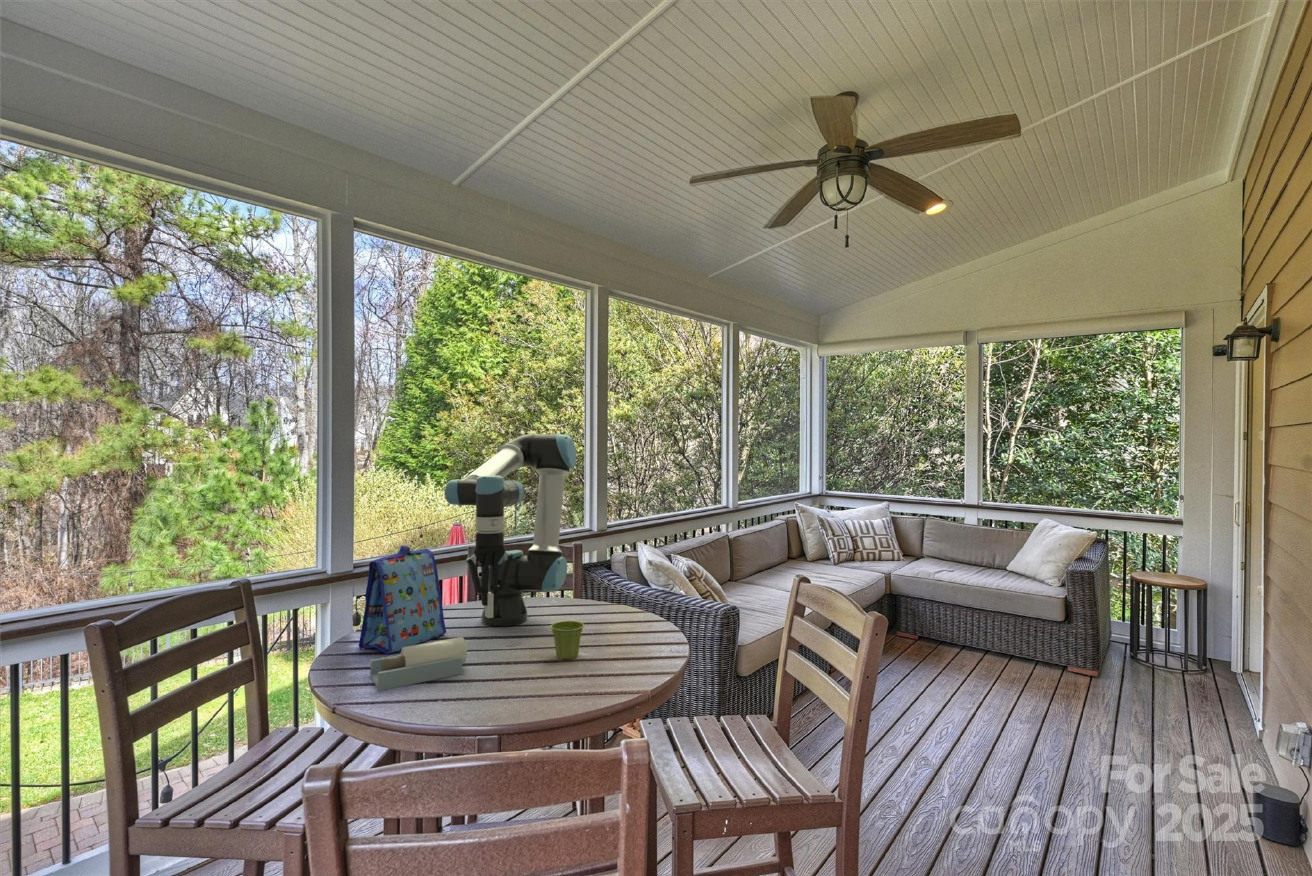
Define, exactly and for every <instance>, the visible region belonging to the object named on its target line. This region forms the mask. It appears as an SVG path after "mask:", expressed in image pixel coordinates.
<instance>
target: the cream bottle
mask: <svg viewBox="0 0 1312 876" xmlns="http://www.w3.org/2000/svg"><path fill="white" fill-rule="evenodd" d="M400 655H401V656H398V657H392V658H387V659H382V664H381V665H382V671H387V670H392V669H398V668H403V667H408V666H414V665H419V664H425V663H430V662H435V661H441V660H446V659H452V658H457V657H461V658H462V665H465V664H466V663H467V657H468V649H467V643H466V640H465V638H464V637H462V636H458V637H453V638H446V639H442V640H436V641H432V642H426V643H424V642H423V643H418V644H416V645H413V646H408V647H403V648H402V649H401V650H400Z"/></svg>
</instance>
